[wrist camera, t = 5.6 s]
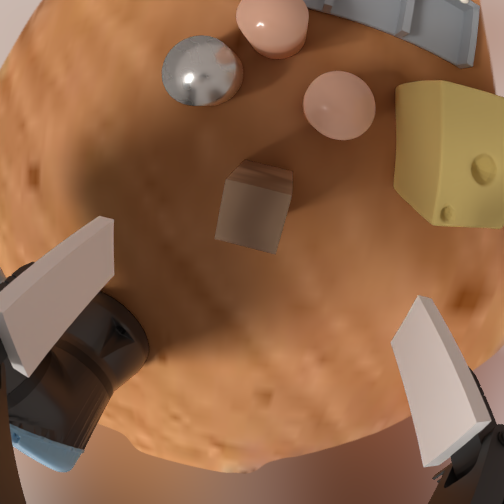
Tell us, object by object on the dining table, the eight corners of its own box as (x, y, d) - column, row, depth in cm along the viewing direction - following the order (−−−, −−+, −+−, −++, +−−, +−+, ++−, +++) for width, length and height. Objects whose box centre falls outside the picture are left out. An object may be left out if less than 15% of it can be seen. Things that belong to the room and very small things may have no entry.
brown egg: (296, 124, 25) (297, 128, 20) (309, 72, 23) (313, 62, 17) (350, 140, 25) (365, 149, 19) (364, 89, 22) (382, 84, 17)
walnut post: (235, 204, 29) (214, 238, 22) (244, 159, 27) (225, 179, 20) (281, 216, 29) (275, 254, 22) (293, 171, 27) (292, 195, 20)
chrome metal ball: (173, 101, 25) (155, 101, 22) (186, 42, 22) (170, 33, 19) (235, 111, 25) (226, 111, 21) (250, 49, 22) (242, 39, 19)
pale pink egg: (243, 53, 22) (229, 39, 17) (255, 6, 20) (244, -18, 15) (299, 64, 22) (300, 52, 17) (311, 17, 20) (314, -6, 15)
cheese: (475, 198, 25) (530, 237, 16) (385, 190, 26) (424, 231, 17) (482, 100, 20) (546, 107, 11) (388, 80, 22) (434, 69, 13)
